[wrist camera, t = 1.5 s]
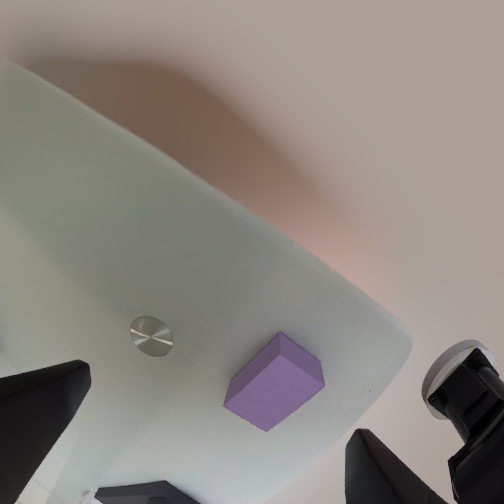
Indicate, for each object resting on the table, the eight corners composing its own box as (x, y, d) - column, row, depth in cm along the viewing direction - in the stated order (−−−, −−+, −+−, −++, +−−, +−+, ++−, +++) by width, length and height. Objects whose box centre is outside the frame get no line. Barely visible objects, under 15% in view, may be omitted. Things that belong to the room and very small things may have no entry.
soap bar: (280, 331, 20) (279, 354, 17) (320, 360, 20) (325, 385, 17) (229, 380, 21) (222, 406, 18) (268, 406, 22) (266, 432, 18)
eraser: (96, 494, 30) (88, 508, 26) (90, 498, 31) (82, 510, 27) (90, 490, 30) (82, 503, 26) (84, 494, 31) (76, 506, 27)
